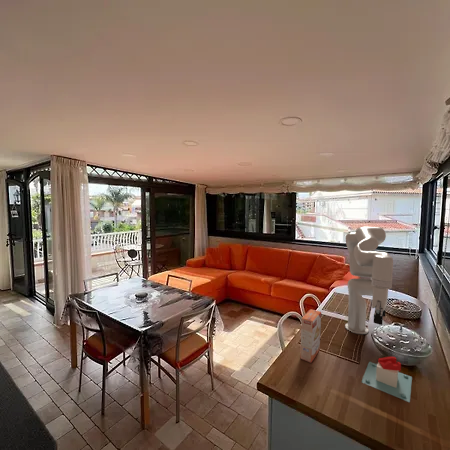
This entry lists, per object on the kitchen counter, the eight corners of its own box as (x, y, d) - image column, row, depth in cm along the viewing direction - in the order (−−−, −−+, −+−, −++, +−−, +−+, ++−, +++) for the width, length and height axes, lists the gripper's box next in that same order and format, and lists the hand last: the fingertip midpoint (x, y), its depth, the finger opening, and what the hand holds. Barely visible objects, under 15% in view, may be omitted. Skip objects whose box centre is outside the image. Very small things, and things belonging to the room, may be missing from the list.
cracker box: (312, 363, 112) (313, 321, 111) (299, 359, 116) (300, 317, 114) (320, 350, 123) (321, 311, 122) (309, 346, 127) (310, 308, 125)
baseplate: (369, 363, 112) (369, 360, 112) (411, 379, 102) (412, 375, 102) (361, 384, 98) (361, 380, 98) (409, 405, 88) (409, 400, 88)
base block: (378, 371, 105) (379, 358, 105) (398, 378, 100) (398, 365, 100) (376, 380, 100) (376, 366, 99) (396, 388, 95) (397, 373, 95)
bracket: (394, 363, 101) (394, 356, 101) (400, 371, 96) (401, 364, 96) (378, 361, 102) (378, 355, 102) (383, 369, 98) (383, 362, 97)
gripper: (374, 276, 114) (372, 310, 115) (368, 286, 100) (366, 324, 102) (393, 279, 109) (391, 315, 110) (389, 290, 96) (387, 330, 97)
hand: (379, 319), depth 106 cm, fingers open, 9 cm apart
